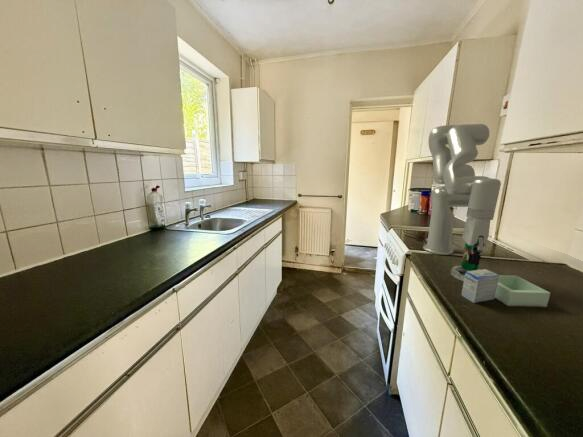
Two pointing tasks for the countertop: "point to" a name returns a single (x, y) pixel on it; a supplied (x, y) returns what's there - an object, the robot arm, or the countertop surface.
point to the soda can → (465, 263)
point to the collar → (456, 270)
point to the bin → (520, 292)
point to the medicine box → (480, 285)
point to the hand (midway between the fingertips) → (470, 260)
